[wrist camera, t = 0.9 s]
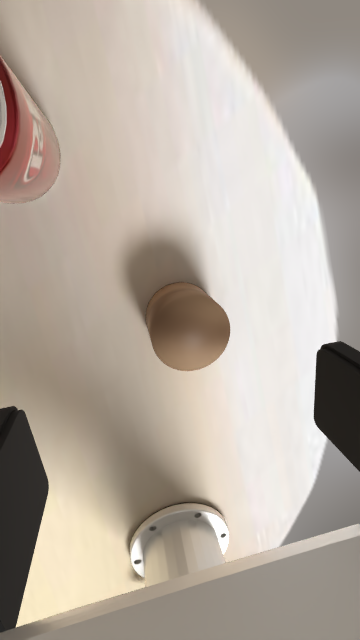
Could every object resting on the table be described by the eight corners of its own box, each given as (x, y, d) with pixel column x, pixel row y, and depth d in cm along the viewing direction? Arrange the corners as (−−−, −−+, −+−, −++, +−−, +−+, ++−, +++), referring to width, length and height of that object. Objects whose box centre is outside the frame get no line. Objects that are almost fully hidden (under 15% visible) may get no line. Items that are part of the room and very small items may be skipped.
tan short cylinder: (197, 354, 32) (211, 378, 27) (136, 336, 30) (139, 359, 25) (223, 295, 30) (242, 310, 25) (159, 272, 28) (168, 284, 24)
